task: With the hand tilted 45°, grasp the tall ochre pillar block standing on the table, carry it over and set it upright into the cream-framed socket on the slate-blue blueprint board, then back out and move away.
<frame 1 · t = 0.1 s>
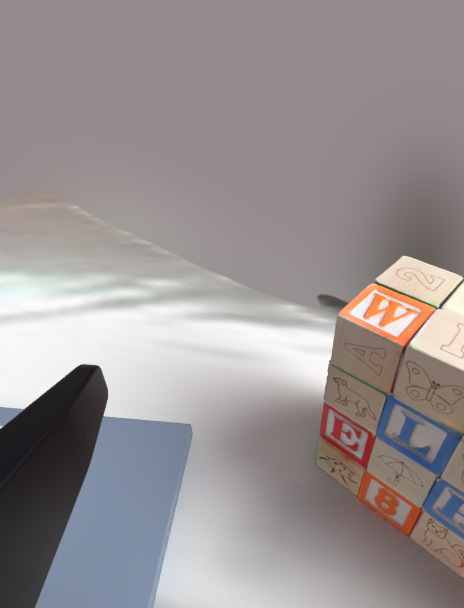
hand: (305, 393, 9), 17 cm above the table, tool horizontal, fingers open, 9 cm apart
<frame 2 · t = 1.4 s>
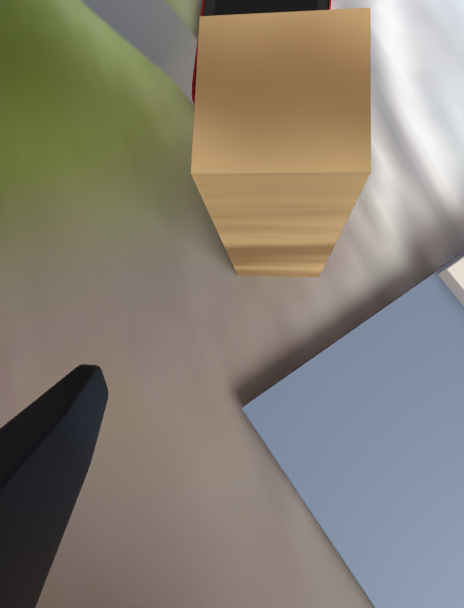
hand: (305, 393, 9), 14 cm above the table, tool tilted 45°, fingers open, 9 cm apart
cell phone: (266, 10, 26), on the table
pillar block: (278, 236, 24), on the table
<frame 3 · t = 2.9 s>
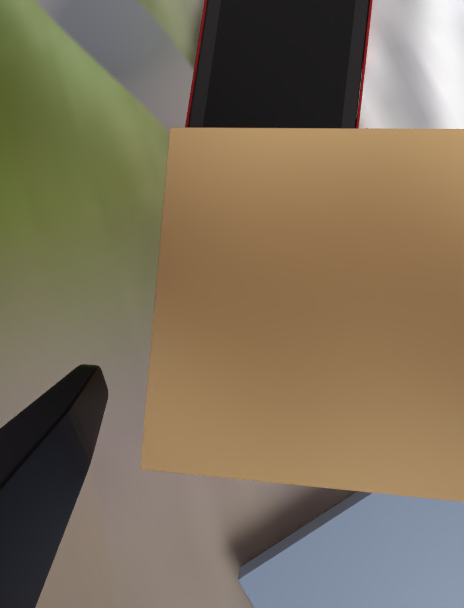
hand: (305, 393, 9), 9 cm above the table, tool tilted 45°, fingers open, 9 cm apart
cell phone: (284, 33, 20), on the table
pillar block: (293, 338, 18), on the table
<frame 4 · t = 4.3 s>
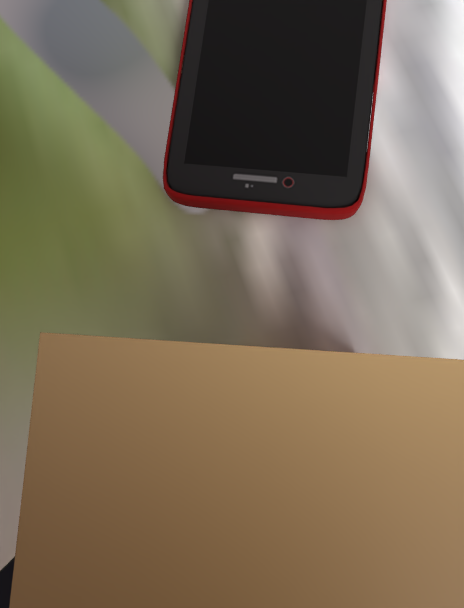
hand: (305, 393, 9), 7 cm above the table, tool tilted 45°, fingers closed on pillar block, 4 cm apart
cell phone: (281, 47, 17), on the table
pillar block: (291, 414, 15), on the table, touching gripper
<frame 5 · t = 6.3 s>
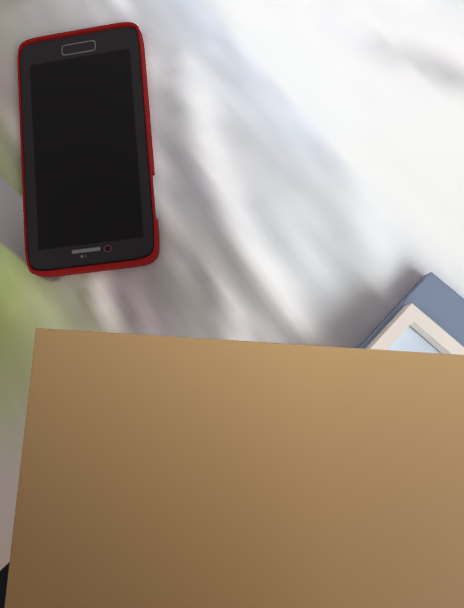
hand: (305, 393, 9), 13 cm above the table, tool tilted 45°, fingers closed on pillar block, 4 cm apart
cell phone: (92, 154, 25), on the table
pillar block: (290, 413, 15), point 7 cm above the table, touching gripper
blueprint board: (386, 532, 21), on the table
when the fingers open (9 cm above the table, at t = 8.1 s): pillar block drops 2 cm, resting on blueprint board.
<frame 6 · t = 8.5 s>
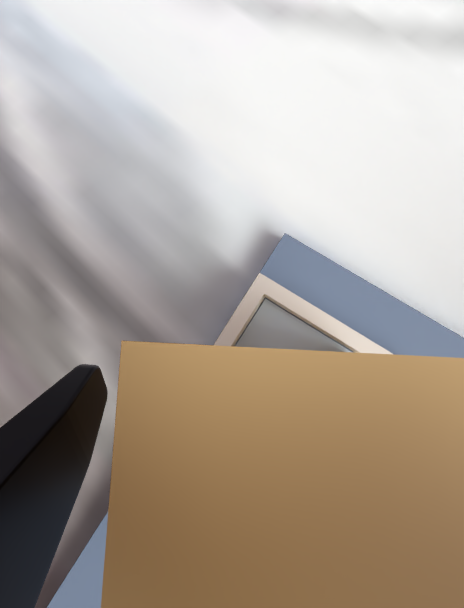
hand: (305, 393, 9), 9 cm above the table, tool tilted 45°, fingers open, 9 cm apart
pillar block: (290, 407, 17), point 1 cm above the table, touching blueprint board
blueprint board: (287, 548, 17), on the table
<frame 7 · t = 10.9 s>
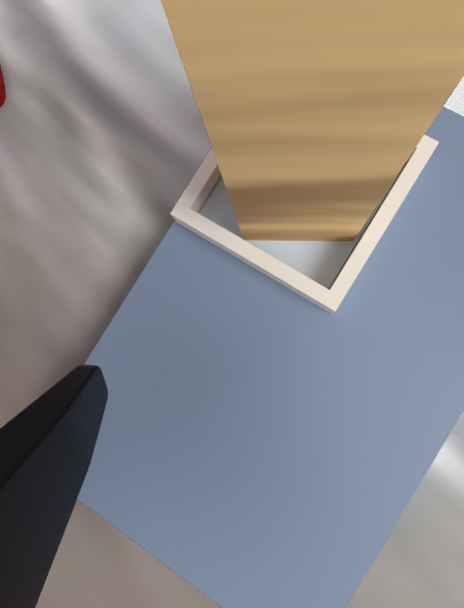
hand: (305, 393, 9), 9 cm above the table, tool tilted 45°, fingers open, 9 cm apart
pillar block: (298, 188, 18), point 1 cm above the table, touching blueprint board
blueprint board: (298, 328, 18), on the table
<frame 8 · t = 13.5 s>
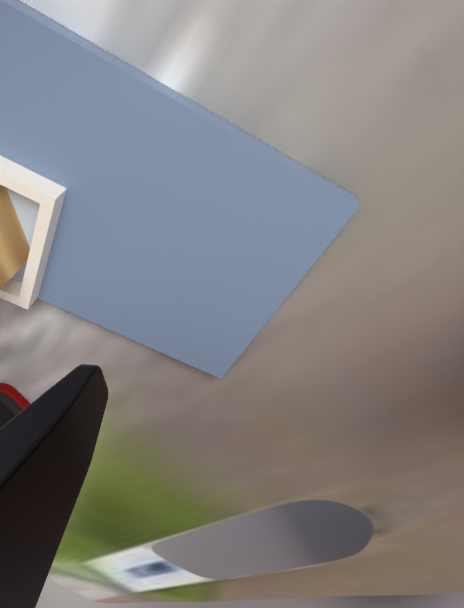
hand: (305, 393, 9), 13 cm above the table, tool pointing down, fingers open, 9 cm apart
blueprint board: (93, 205, 21), on the table
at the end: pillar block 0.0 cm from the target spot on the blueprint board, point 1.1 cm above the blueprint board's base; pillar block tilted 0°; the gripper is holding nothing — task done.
